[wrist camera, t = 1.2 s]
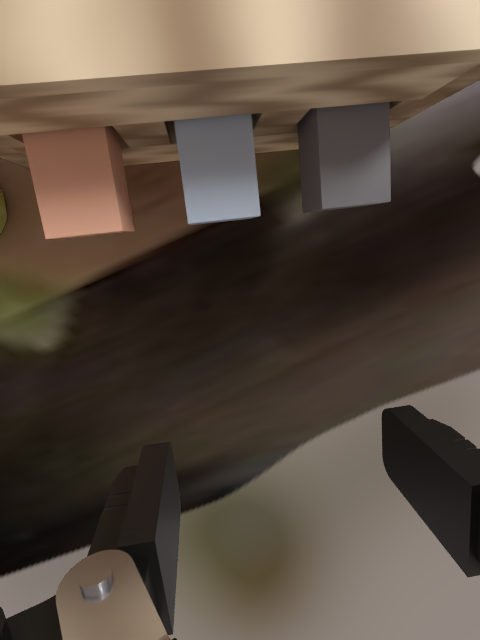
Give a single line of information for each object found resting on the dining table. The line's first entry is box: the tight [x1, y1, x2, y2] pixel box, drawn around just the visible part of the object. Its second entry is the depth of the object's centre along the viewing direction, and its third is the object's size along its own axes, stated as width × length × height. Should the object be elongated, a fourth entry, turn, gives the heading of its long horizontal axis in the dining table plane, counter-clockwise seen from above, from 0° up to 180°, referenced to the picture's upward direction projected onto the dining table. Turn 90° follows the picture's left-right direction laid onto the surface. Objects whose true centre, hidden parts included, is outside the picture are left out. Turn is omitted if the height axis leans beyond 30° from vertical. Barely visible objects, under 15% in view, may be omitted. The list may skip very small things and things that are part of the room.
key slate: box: [174, 114, 261, 225], centre depth 22 cm, size 4×6×4 cm, turn 6°
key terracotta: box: [22, 126, 135, 239], centre depth 21 cm, size 4×6×4 cm, turn 6°
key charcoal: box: [297, 102, 391, 213], centre depth 22 cm, size 4×6×4 cm, turn 6°
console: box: [0, 0, 480, 169], centre depth 20 cm, size 25×9×16 cm, turn 96°
